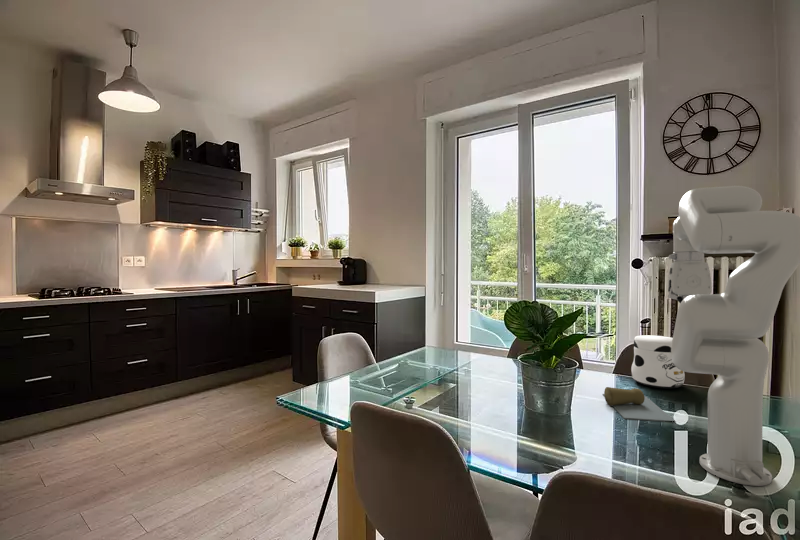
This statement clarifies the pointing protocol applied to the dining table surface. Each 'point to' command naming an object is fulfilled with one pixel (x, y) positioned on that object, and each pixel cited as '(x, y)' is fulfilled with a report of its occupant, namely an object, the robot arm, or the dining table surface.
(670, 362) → the milk container
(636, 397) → the cork
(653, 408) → the mat
